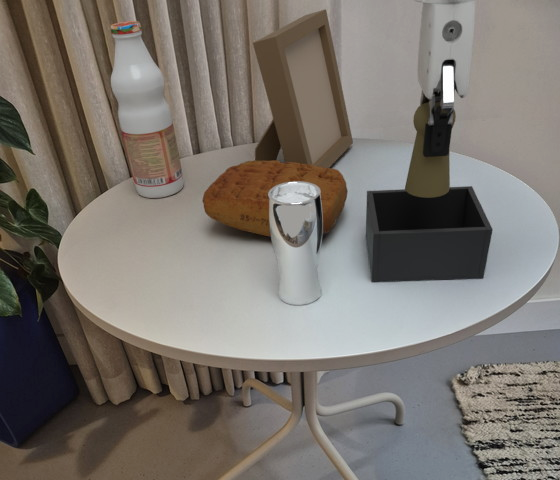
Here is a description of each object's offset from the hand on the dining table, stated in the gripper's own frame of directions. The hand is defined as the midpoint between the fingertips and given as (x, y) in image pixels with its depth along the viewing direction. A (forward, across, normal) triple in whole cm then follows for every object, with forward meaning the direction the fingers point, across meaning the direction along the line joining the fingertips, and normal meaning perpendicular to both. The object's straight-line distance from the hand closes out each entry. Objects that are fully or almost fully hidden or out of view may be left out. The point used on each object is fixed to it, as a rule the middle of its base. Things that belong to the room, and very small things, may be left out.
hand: (432, 145), depth 76 cm
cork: (+6, 0, 0) cm, 6 cm away
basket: (+16, 0, 0) cm, 16 cm away
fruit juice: (+17, +29, +46) cm, 57 cm away
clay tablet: (+17, +13, +22) cm, 30 cm away
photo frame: (+17, +38, +19) cm, 46 cm away
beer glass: (+17, -9, +18) cm, 26 cm away
